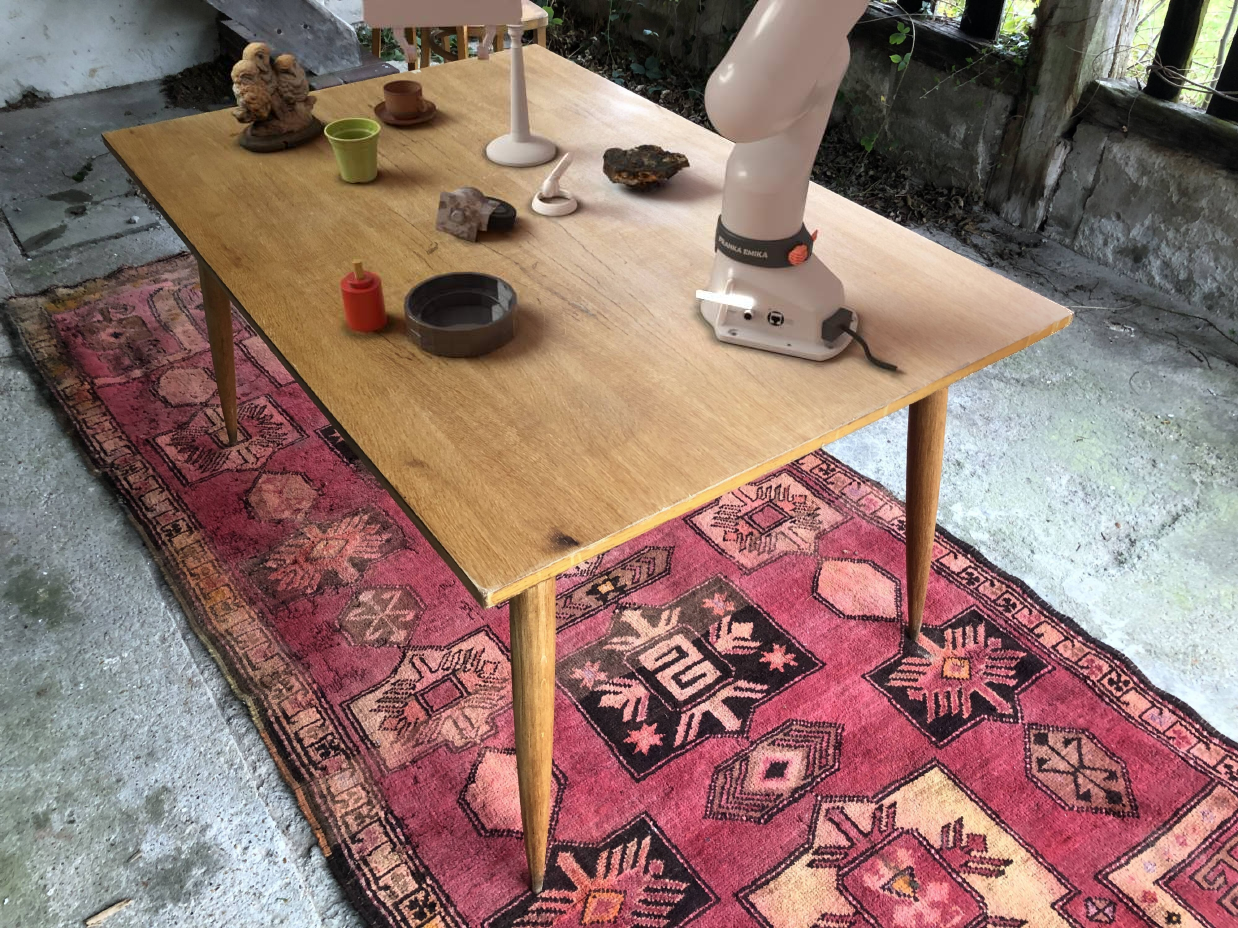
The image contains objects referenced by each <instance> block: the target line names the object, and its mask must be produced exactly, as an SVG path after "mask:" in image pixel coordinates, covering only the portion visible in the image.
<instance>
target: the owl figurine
mask: <svg viewBox="0 0 1238 928" xmlns="http://www.w3.org/2000/svg"><path fill="white" fill-rule="evenodd" d="M270 49H271V48H270V47H269V46H268V45H267V44H265V43H264V42H251V43H248V44H247V46H246V47H245V48H244V50H243V52H242V60H239V61H238V62H237V63H235V65H233V67H232V70H231V73H230V76H231V79H232V82H233V85H232V91H233V93H234V96H235V98H236V104H237V107H235V108H234V110H231V111H230V115H231V116H232V117H234V118H235V119H236V121H237V123H239V124H242V125H243V124H245V125H246V124H247V125H246V126H245V127H244V128H243V130H241V132H240V133H238V136H237V142H238V144H239V146H240V147H242V148H247V149H249V150H250V151H254V152H258V153H259V152H261V153H262V152H263V153H269V152H276V151H279V150H284V149H286V146H287V147H288V148H295V147H297V146H300V145H301V144H304V143H307V142H309V141H310V140H312V139H314V138H316V137H317V136H318V135H319V134H320V132H321V131H322V127H323V126H322V122H321V120H320V119H319V118H317V117H316V116H315V115H314V114H312V111H313V110H314V106H315V104H316V103H317V102H318V99H317V96H316V95H309V93H310V87H309V82H308V79H307V74H306V72H305V69H303V67H301V65H300V62H299V61H298V59H297V58H296V57H295V56H294V55H292V54H285V53H284V54H282V55H279V56H278V57H277V58H276V59H275V60H274V61H273V64H272V65H271V63H270V55H271V50H270ZM285 142H286V143H287V145H286V143H285Z"/></svg>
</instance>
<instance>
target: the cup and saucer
mask: <svg viewBox="0 0 1238 928" xmlns="http://www.w3.org/2000/svg"><path fill="white" fill-rule="evenodd" d="M382 90H383V91H382V92H383V96H384V100H383V101H381V102H379V103H377V104H376V105H375V106H374V108H373V114H374V115H375V117H376V118H377V119H378V120H380V121H382V122H384V123H387V124H391V125H397V126H409V125H415V124H420V123H423V122H426V121H428V120H429V119H431V118H432V117H433V116H434V115H435V114H436V111H437V107H436V104H435V103H434V102H432V101H430V100H428V99H426V98H424V96H423V86H422V84H421V83H420V82H418V81H414V80H410V79H398V80H393V81H390V82H387V83H385V84H384V85H383V86H382Z"/></svg>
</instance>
